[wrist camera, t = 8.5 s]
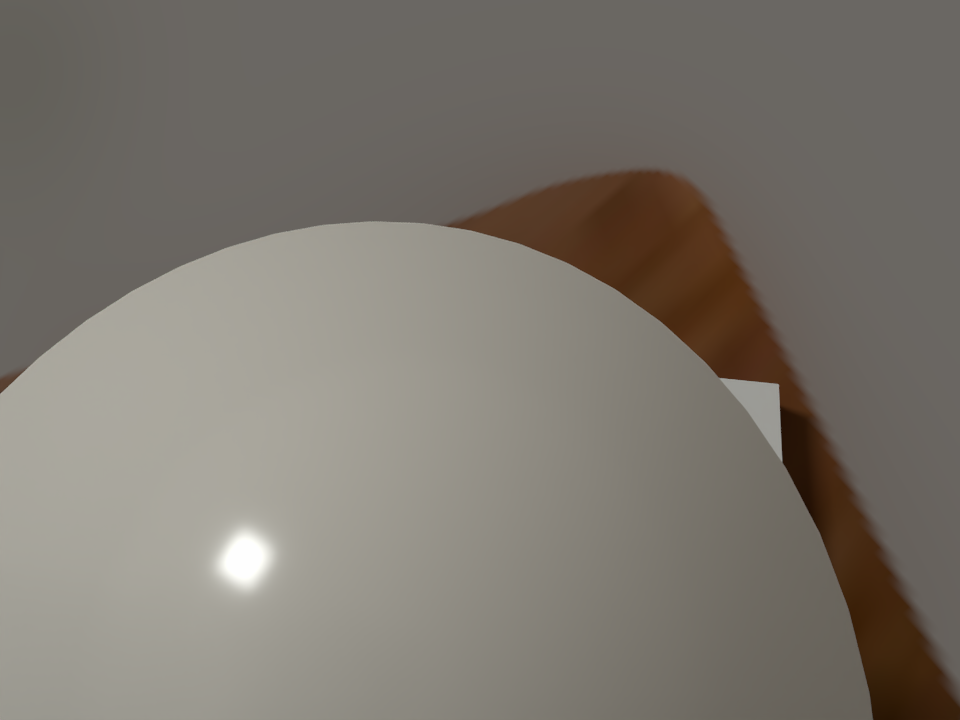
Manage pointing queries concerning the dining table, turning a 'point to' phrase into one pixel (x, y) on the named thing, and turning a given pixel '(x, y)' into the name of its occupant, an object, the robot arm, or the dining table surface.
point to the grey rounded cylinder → (401, 503)
